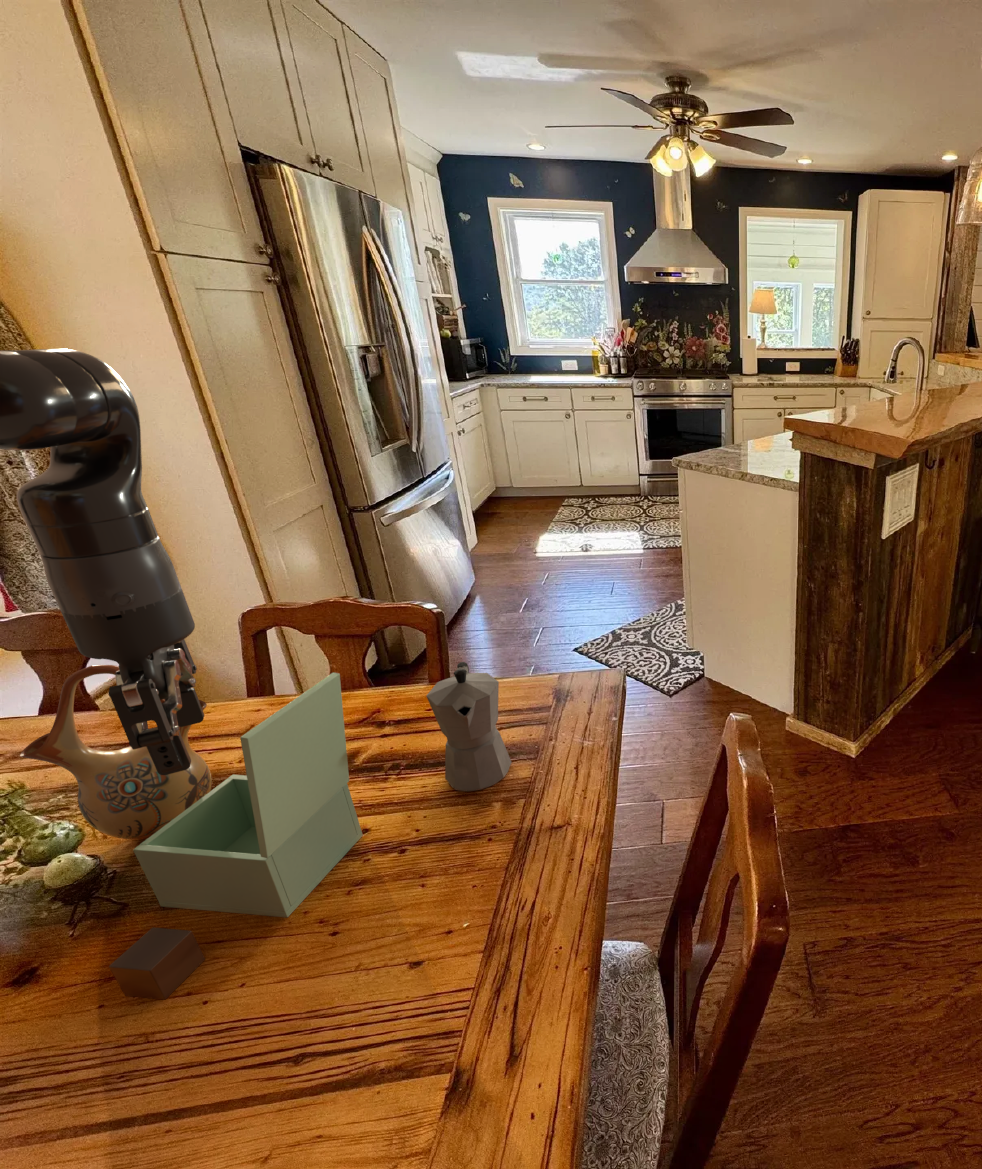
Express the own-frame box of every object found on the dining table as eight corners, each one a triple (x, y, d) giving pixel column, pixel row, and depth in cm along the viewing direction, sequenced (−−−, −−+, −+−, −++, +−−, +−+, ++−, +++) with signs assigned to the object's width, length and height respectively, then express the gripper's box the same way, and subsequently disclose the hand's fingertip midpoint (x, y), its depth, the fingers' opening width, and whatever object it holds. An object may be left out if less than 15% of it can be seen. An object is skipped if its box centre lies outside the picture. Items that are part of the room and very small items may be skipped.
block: (124, 995, 63) (107, 966, 61) (167, 955, 67) (152, 926, 65) (165, 999, 63) (149, 970, 61) (205, 959, 67) (192, 930, 65)
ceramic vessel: (242, 783, 91) (184, 632, 82) (245, 818, 85) (182, 659, 76) (82, 836, 81) (-6, 672, 72) (72, 880, 75) (-26, 707, 66)
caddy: (160, 906, 72) (132, 849, 69) (252, 826, 84) (232, 774, 80) (287, 917, 71) (265, 860, 68) (363, 835, 83) (347, 783, 80)
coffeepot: (516, 790, 92) (498, 686, 85) (444, 809, 88) (420, 701, 81) (507, 732, 104) (492, 638, 97) (445, 746, 100) (424, 649, 94)
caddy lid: (239, 737, 61) (247, 738, 61) (333, 672, 73) (339, 673, 73) (260, 856, 68) (267, 858, 68) (343, 779, 79) (349, 780, 79)
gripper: (84, 574, 57) (147, 720, 64) (29, 636, 47) (111, 804, 53) (192, 561, 61) (241, 699, 68) (164, 614, 51) (225, 773, 57)
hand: (184, 745), depth 60 cm, fingers open, 8 cm apart
